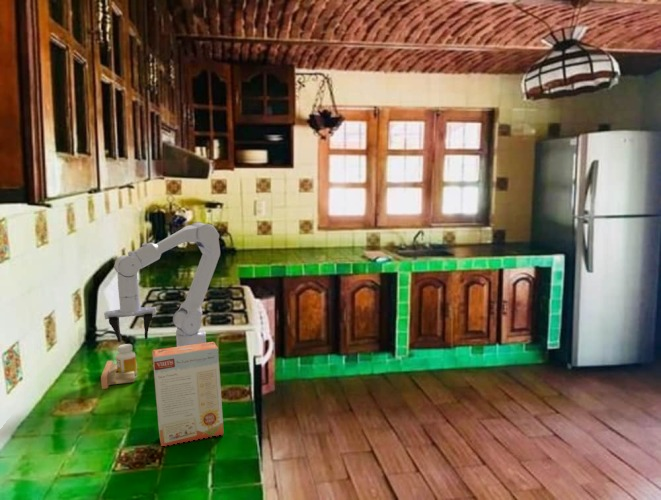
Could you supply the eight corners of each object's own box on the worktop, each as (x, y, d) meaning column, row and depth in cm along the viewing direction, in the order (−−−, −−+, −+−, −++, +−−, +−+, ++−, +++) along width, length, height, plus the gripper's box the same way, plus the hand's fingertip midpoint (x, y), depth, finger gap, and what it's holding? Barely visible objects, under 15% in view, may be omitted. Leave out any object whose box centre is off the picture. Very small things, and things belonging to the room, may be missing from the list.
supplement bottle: (140, 374, 171) (138, 343, 170) (132, 381, 166) (129, 348, 164) (123, 374, 172) (120, 343, 170) (114, 381, 166) (111, 348, 165)
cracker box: (219, 425, 136) (214, 340, 133) (224, 436, 130) (219, 347, 127) (158, 436, 131) (151, 348, 128) (160, 448, 125) (153, 356, 122)
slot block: (137, 370, 174) (136, 361, 174) (134, 381, 164) (133, 373, 164) (112, 372, 172) (112, 364, 172) (108, 384, 163) (107, 375, 162)
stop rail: (113, 371, 174) (112, 360, 174) (107, 388, 161) (106, 376, 160) (108, 371, 174) (107, 360, 173) (101, 388, 160) (100, 377, 160)
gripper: (101, 300, 165) (105, 346, 167) (154, 296, 169) (157, 340, 171) (104, 295, 172) (108, 339, 174) (154, 291, 176) (158, 334, 178)
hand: (133, 339), depth 173 cm, fingers open, 7 cm apart
